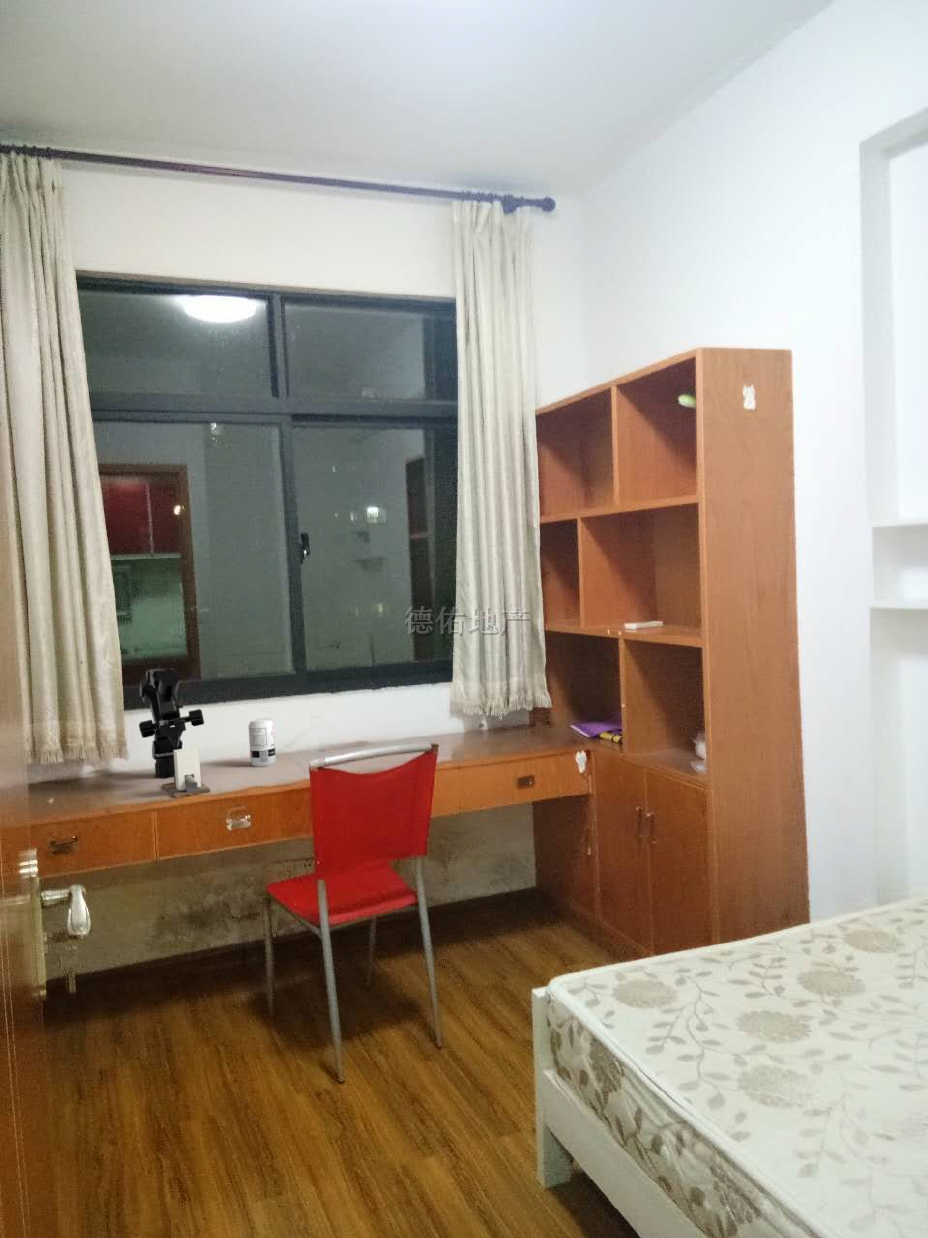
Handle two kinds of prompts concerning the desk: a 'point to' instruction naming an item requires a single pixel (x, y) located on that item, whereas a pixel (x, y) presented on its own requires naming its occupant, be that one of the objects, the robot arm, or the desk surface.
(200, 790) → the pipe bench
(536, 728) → the desk surface
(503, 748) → the desk surface
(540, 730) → the desk surface
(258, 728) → the supplement can
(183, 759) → the white upright block
